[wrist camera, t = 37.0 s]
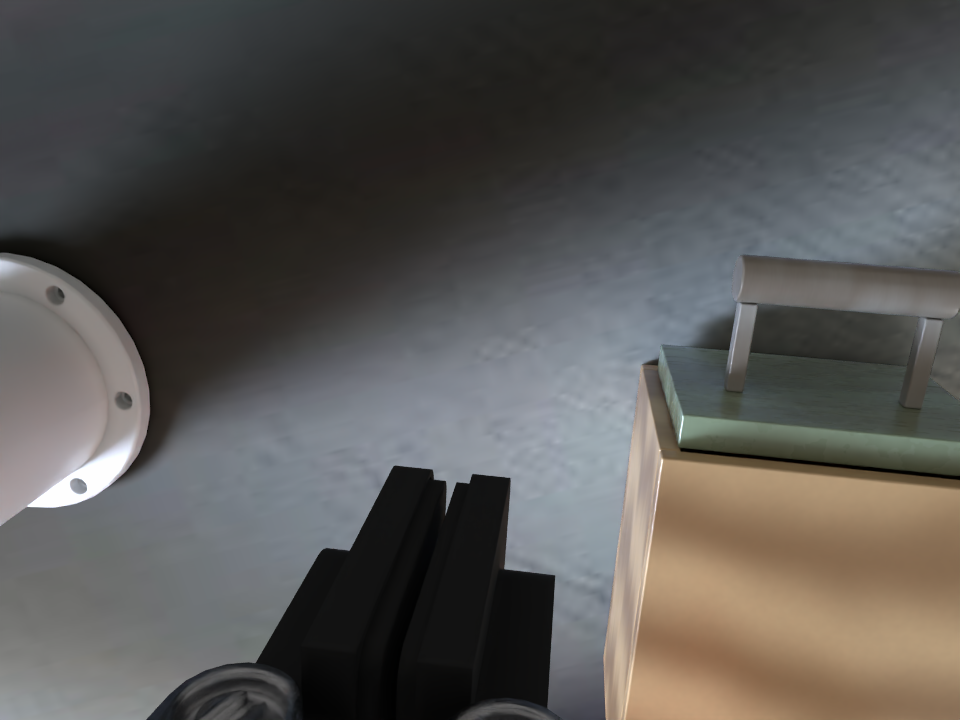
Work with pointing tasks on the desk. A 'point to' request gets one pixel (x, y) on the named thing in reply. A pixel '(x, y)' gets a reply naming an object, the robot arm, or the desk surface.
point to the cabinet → (779, 587)
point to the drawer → (821, 375)
